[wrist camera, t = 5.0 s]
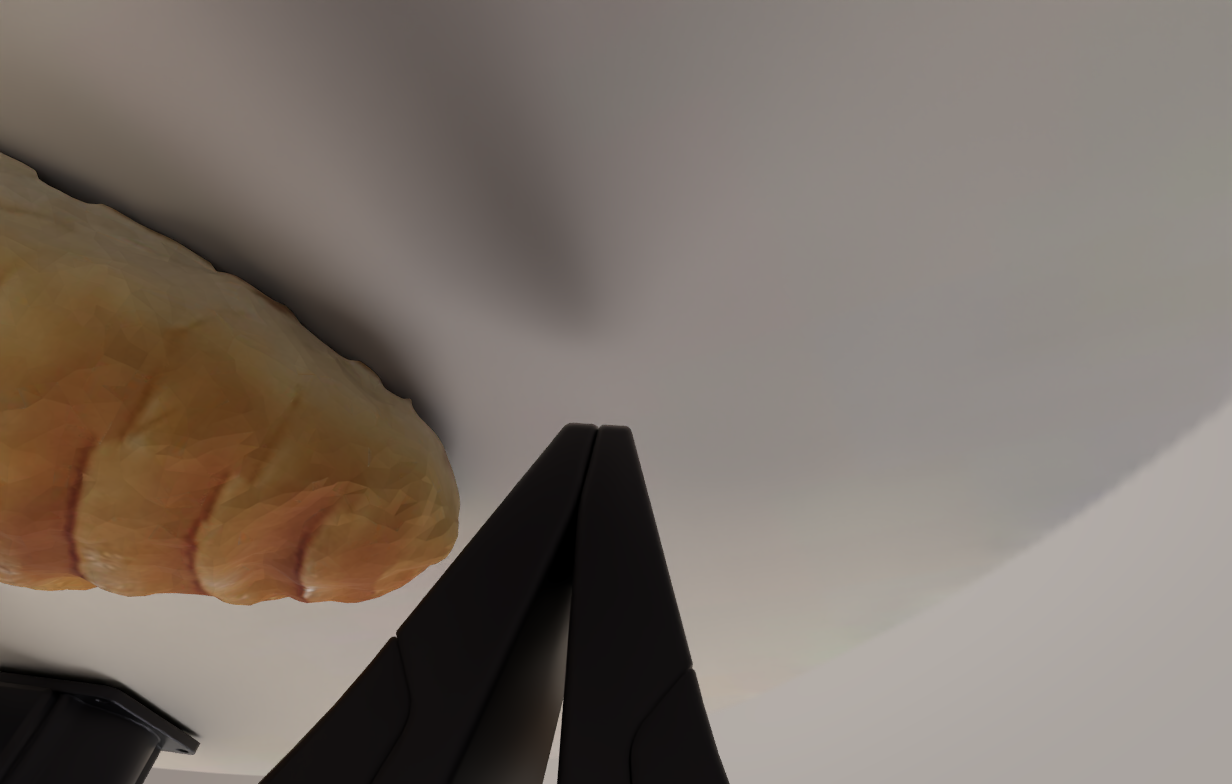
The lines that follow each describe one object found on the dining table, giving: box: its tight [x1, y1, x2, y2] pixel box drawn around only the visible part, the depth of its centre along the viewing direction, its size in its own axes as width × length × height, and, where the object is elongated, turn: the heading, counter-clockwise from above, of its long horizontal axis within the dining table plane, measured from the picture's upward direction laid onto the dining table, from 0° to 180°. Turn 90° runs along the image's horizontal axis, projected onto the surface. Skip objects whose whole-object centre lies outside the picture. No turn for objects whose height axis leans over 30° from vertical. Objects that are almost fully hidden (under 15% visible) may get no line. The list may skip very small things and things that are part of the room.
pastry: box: [0, 152, 460, 605], centre depth 10 cm, size 9×7×4 cm
